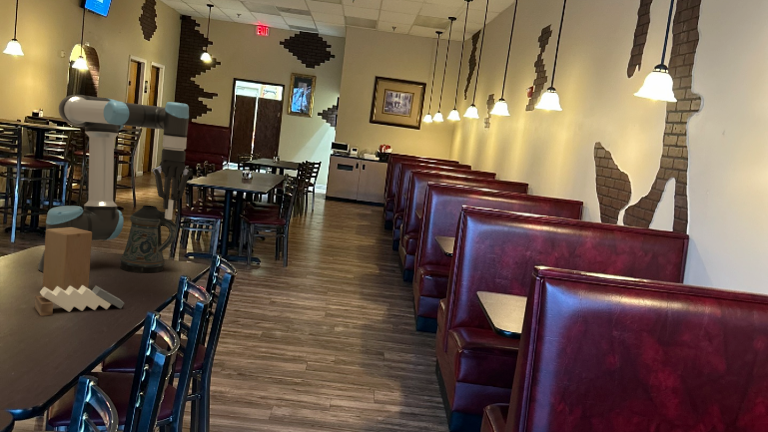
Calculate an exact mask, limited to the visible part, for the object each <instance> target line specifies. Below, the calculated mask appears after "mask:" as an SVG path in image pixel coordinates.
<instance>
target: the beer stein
mask: <svg viewBox="0 0 768 432" xmlns="http://www.w3.org/2000/svg"><path fill="white" fill-rule="evenodd" d="M129 217H130V218H129V220H130V222H131V225H130V229H129V234H128V238H127V241H126V245H125V248H124V251H123V254H122V255H121V257H120V269H122V270H123V271H126V272H131V273H138V274H154V273H158V272H161V271H163V270H164V266H165V263H166V261H165V258H164V253H163V251H164V250H166V249H167V248H168V247H169V246H171V244H173V242H174V240H175V238H176V236H177V226H176V223H175V222H174V221H172V219H166V218H165V211H162V210H161V211H160V210H159V209H158V207H157V206H155V205H142V207H141V208H139V209H138V210H136V211H135V212H133V213H132V214H131V215H130V216H129ZM162 227H165V228H167V229H168V231H169V234H168V236H167V238H166V239H165V240H164V241H163V240H162ZM162 241H163V242H162Z"/></svg>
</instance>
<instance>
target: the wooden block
mask: <svg viewBox="0 0 768 432" xmlns="http://www.w3.org/2000/svg"><path fill="white" fill-rule="evenodd" d="M92 244H93V243H92V232H91V231H86V230H82V229H78V228H73V227H66V228H54V229H46V228H45V237H44V250H45V254H44V270H43V272H42V273H43V274H42V289H43V287H46V288H48V289H49V290H51V291H53V290H54V289H55V288H56V287H57V286H58V287H60V288H61V289H63V290H65V291H66V289H67V288H68V287H69V286H72V287H73V288H75V289H77V290H79V288H80V287H81V286H82V285H83V286H85V287H87V288H88V289H89V288H90V287H89V285H90V271H91V270H90V269H91V257H92V255H91V253H92Z"/></svg>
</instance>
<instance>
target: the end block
mask: <svg viewBox="0 0 768 432" xmlns="http://www.w3.org/2000/svg"><path fill="white" fill-rule="evenodd" d="M34 308H35V310H36V311H37V313H38V314H39V315H40V317H44V316H46V317H47V316H53V312H54V311H53V309H54V303H53V302H52V301H50V300H48V299H46V298H45V297H43V296H42V295H35V298H34Z"/></svg>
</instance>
